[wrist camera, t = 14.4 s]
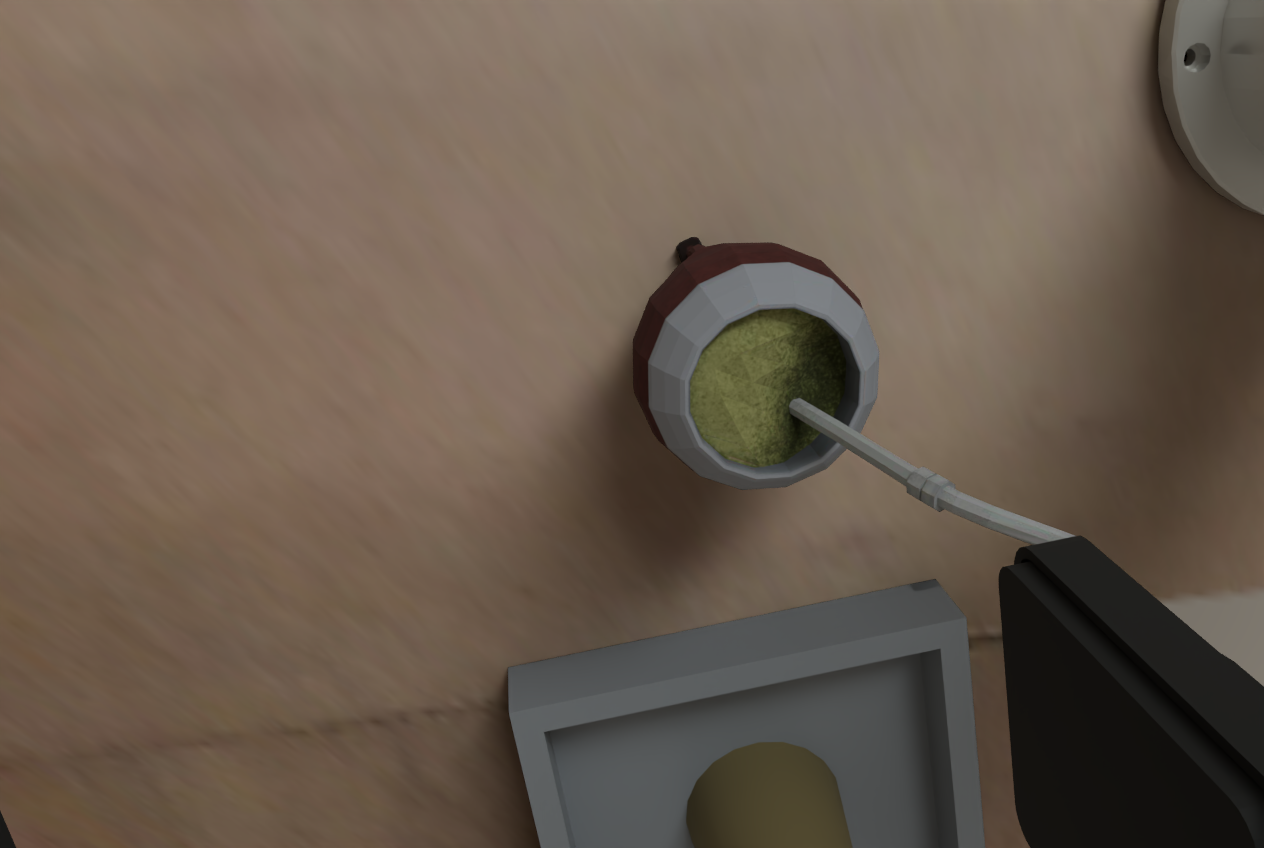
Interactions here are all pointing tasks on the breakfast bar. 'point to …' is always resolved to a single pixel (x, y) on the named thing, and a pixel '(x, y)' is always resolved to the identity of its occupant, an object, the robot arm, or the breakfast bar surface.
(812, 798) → the cork
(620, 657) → the tray
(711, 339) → the mate gourd
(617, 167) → the breakfast bar surface
